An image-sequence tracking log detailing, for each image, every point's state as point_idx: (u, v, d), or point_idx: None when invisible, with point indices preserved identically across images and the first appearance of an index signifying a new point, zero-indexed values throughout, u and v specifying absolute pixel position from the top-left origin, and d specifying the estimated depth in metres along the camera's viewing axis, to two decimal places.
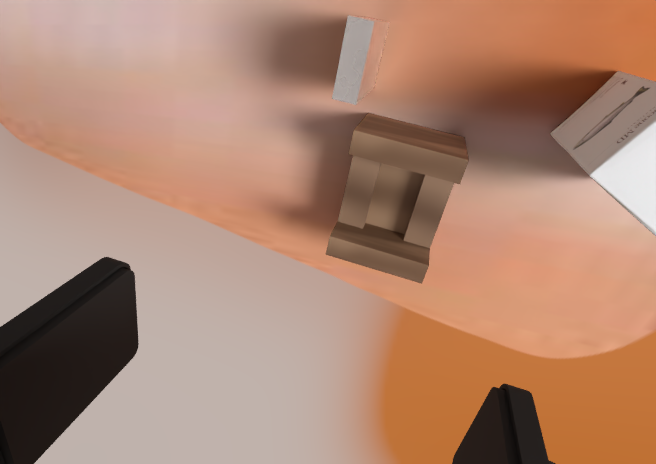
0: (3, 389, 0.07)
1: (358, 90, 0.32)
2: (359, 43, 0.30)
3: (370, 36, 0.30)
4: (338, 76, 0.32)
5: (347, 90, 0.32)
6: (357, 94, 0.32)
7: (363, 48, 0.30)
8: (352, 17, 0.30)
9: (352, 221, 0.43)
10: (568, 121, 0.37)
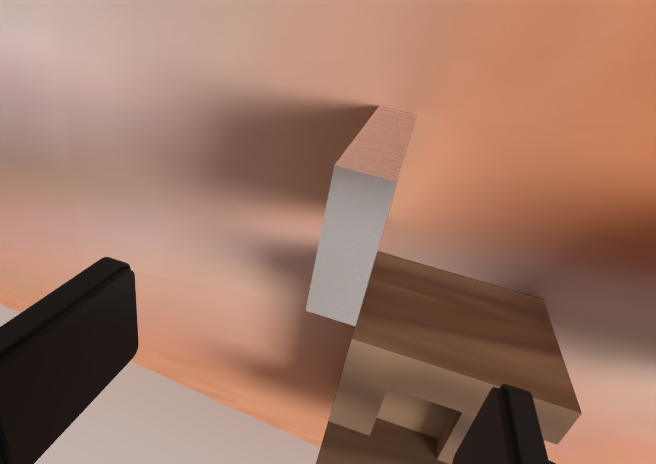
0: (3, 389, 0.07)
1: (360, 303, 0.15)
2: (361, 221, 0.13)
3: (386, 210, 0.13)
4: (317, 275, 0.15)
5: (337, 301, 0.15)
6: (358, 309, 0.15)
7: (370, 231, 0.13)
8: (344, 170, 0.13)
9: (352, 424, 0.26)
10: None
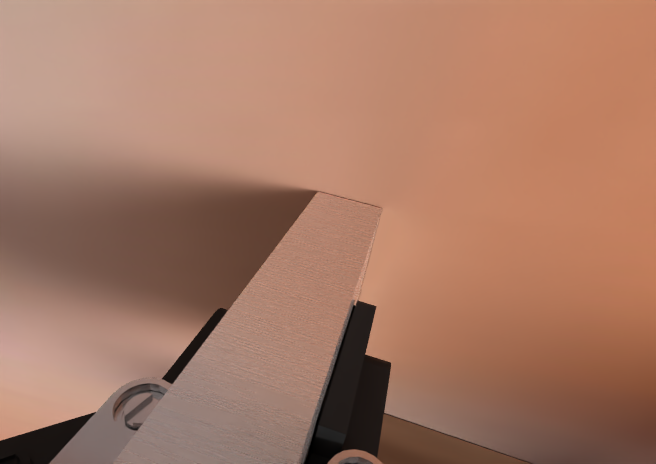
0: None
1: None
2: None
3: None
4: None
5: None
6: None
7: None
8: None
9: None
10: None
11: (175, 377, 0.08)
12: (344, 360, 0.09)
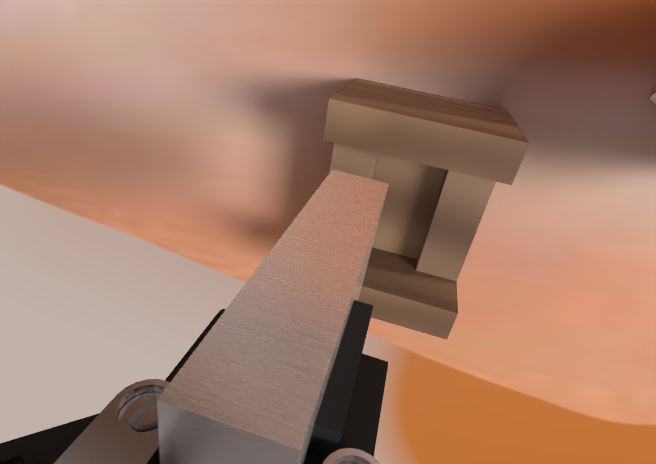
0: None
1: None
2: None
3: None
4: None
5: None
6: None
7: None
8: (181, 411, 0.05)
9: None
10: None
11: None
12: (341, 359, 0.09)
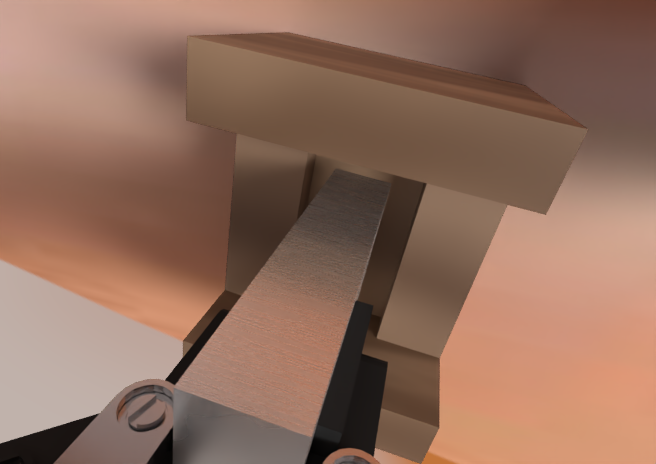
0: None
1: None
2: None
3: None
4: None
5: None
6: None
7: None
8: (197, 399, 0.06)
9: None
10: None
11: (178, 378, 0.08)
12: (341, 359, 0.09)
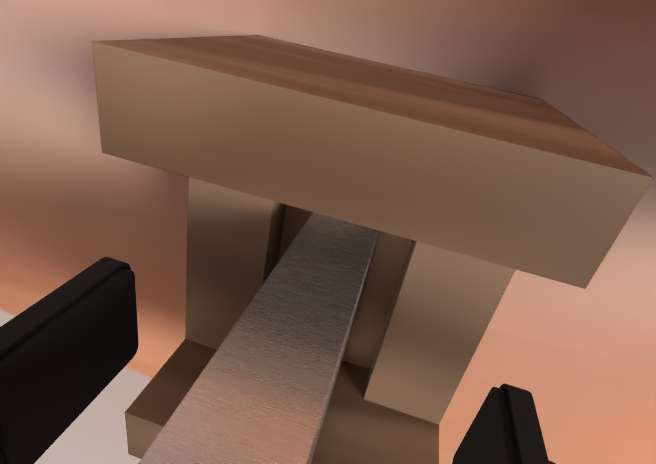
0: (3, 389, 0.07)
1: None
2: None
3: None
4: None
5: None
6: None
7: None
8: None
9: (222, 341, 0.15)
10: None
11: None
12: None
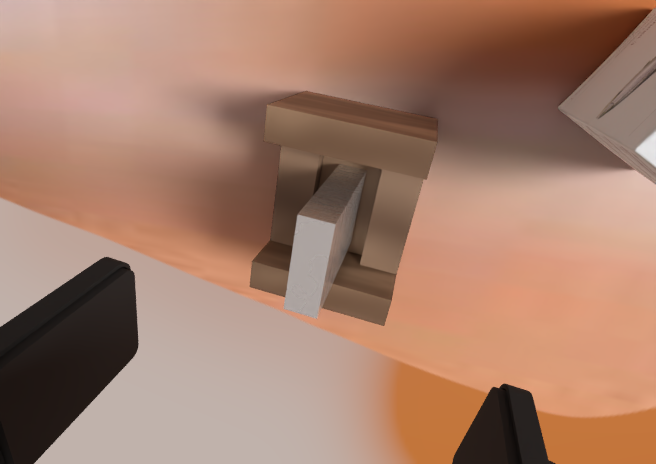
0: (3, 389, 0.07)
1: (319, 302, 0.23)
2: (316, 248, 0.21)
3: (331, 241, 0.21)
4: (290, 284, 0.22)
5: (304, 301, 0.23)
6: (318, 306, 0.23)
7: (322, 255, 0.21)
8: (304, 217, 0.21)
9: (289, 239, 0.31)
10: (584, 86, 0.25)
11: None
12: None
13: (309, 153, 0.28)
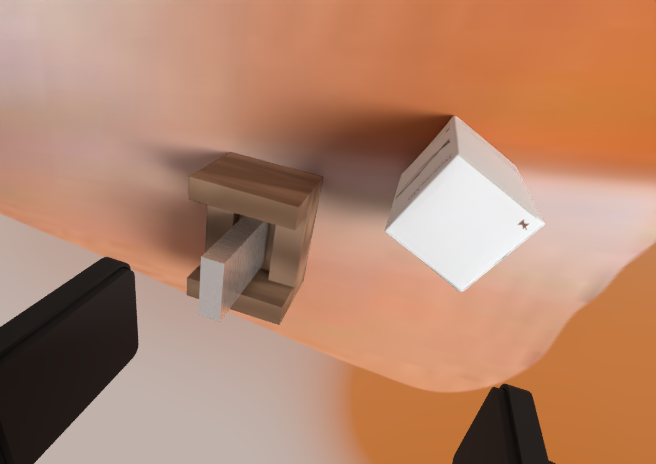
0: (3, 389, 0.07)
1: (220, 311, 0.34)
2: (214, 277, 0.33)
3: (223, 273, 0.32)
4: (201, 299, 0.34)
5: (210, 310, 0.34)
6: (219, 313, 0.34)
7: (218, 281, 0.33)
8: (205, 258, 0.32)
9: None
10: (411, 164, 0.37)
11: None
12: None
13: None
